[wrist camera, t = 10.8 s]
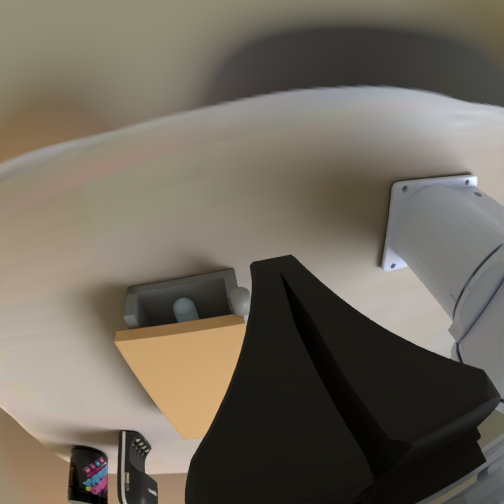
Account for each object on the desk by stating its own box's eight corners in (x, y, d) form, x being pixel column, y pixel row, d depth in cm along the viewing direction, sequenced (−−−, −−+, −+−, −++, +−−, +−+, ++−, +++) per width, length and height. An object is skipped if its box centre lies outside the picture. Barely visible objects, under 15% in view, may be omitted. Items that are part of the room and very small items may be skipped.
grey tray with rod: (241, 261, 22) (250, 297, 19) (264, 402, 34) (271, 430, 31) (126, 282, 22) (118, 320, 18) (193, 413, 34) (196, 442, 30)
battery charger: (157, 446, 39) (161, 514, 29) (134, 447, 38) (135, 513, 29) (143, 429, 35) (145, 506, 25) (117, 429, 34) (116, 504, 25)
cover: (242, 312, 20) (244, 323, 20) (263, 421, 31) (265, 428, 30) (116, 331, 20) (113, 341, 19) (183, 431, 30) (183, 439, 29)
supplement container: (109, 461, 42) (109, 511, 33) (74, 454, 40) (71, 504, 31) (107, 449, 38) (106, 506, 30) (68, 441, 36) (63, 497, 28)
